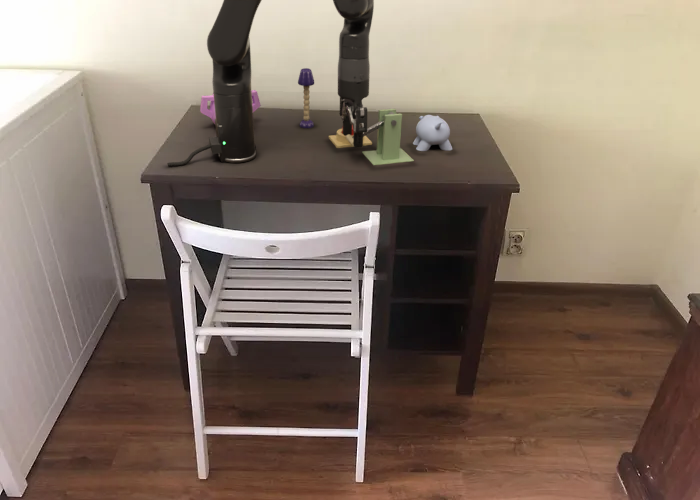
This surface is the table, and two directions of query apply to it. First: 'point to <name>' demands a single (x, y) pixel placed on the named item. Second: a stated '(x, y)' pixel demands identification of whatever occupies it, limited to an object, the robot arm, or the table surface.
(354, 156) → the table surface
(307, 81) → the toy lamp
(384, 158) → the bracket
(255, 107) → the pot
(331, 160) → the table surface
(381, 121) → the lever
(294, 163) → the table surface
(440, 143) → the hippopotamus toy
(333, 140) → the button box
